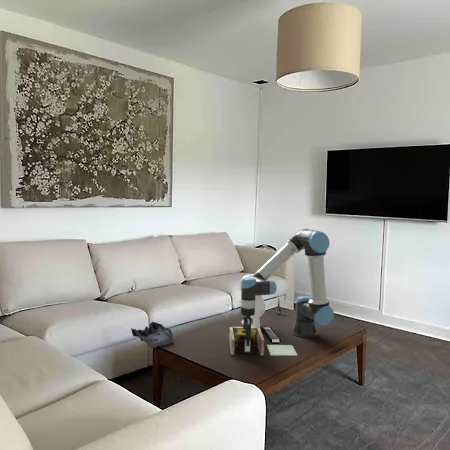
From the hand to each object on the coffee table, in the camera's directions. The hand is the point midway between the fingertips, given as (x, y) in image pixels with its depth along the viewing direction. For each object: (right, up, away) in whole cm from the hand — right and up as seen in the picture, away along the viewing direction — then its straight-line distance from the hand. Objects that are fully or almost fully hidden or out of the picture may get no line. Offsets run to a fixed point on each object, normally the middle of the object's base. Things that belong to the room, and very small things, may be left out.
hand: (246, 347), depth 227 cm
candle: (0, -2, 0) cm, 2 cm away
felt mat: (+19, -2, +1) cm, 19 cm away
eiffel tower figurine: (+26, +2, +71) cm, 75 cm away
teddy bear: (+6, +1, +41) cm, 41 cm away
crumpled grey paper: (-51, 0, +8) cm, 52 cm away
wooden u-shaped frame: (0, -1, +4) cm, 4 cm away
